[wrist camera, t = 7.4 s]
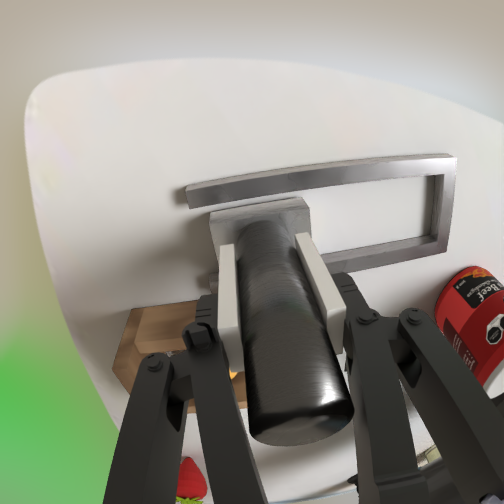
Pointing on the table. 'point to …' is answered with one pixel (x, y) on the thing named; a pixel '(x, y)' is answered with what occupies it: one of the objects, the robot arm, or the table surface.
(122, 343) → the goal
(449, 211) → the rail
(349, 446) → the table surface
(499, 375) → the canned food
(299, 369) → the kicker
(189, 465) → the strawberry
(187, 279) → the table surface
